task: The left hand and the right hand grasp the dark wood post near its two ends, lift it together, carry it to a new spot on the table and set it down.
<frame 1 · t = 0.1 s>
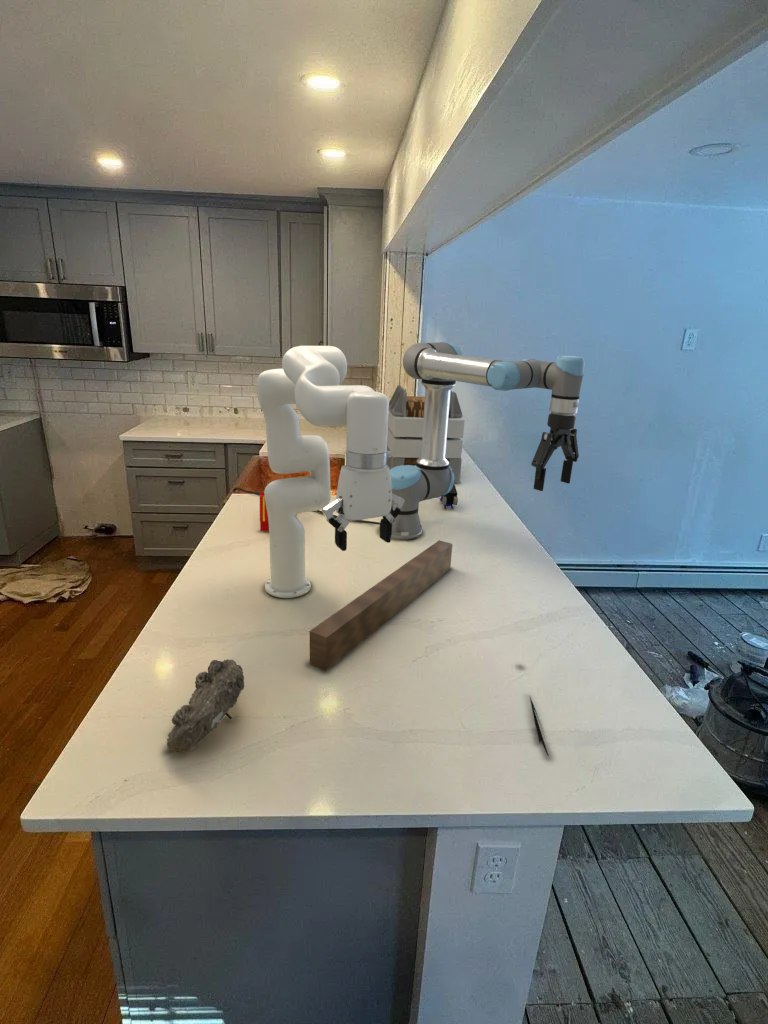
left hand: (363, 544, 111), 31 cm above the counter, tool pointing down, fingers open, 9 cm apart
right hand: (551, 486, 166), 28 cm above the counter, tool pointing down, fingers open, 13 cm apart
figurine: (357, 453, 307), on the counter
toy: (279, 518, 209), on the counter
fossil: (212, 717, 108), on the counter
feather: (532, 708, 115), on the counter
post: (391, 608, 150), on the counter
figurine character: (447, 505, 232), on the counter
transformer: (419, 473, 275), on the counter
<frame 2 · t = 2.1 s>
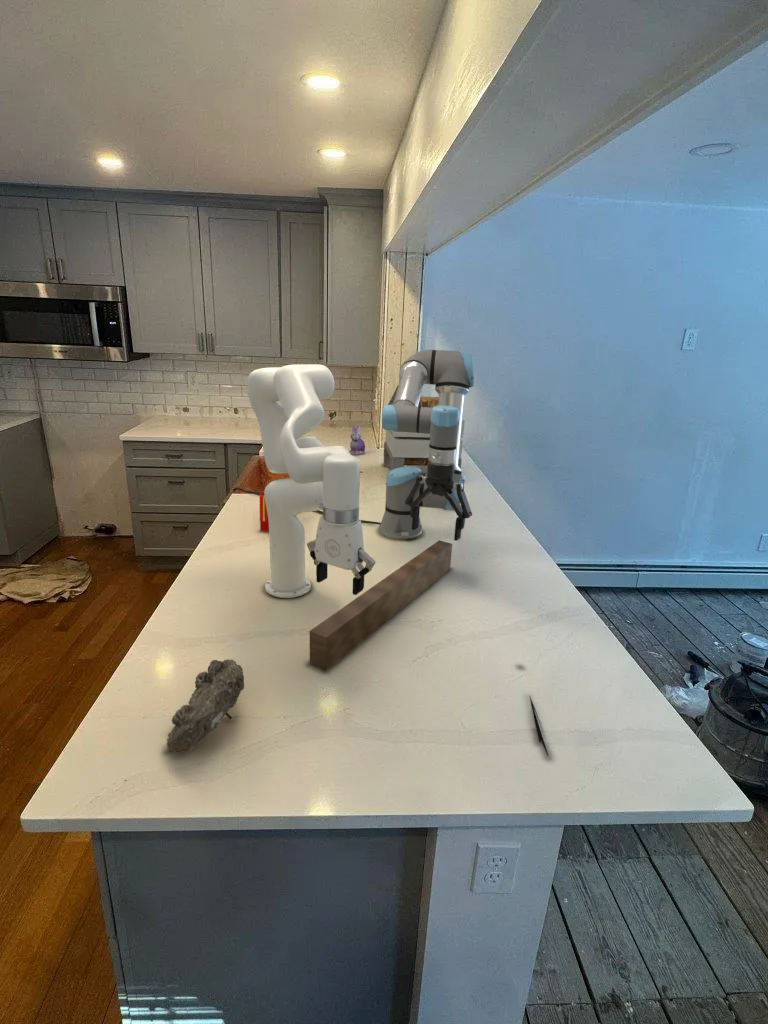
left hand: (339, 586, 125), 17 cm above the counter, tool pointing down, fingers open, 9 cm apart
right hand: (435, 533, 165), 14 cm above the counter, tool pointing down, fingers open, 13 cm apart
nothing on the counter moved.
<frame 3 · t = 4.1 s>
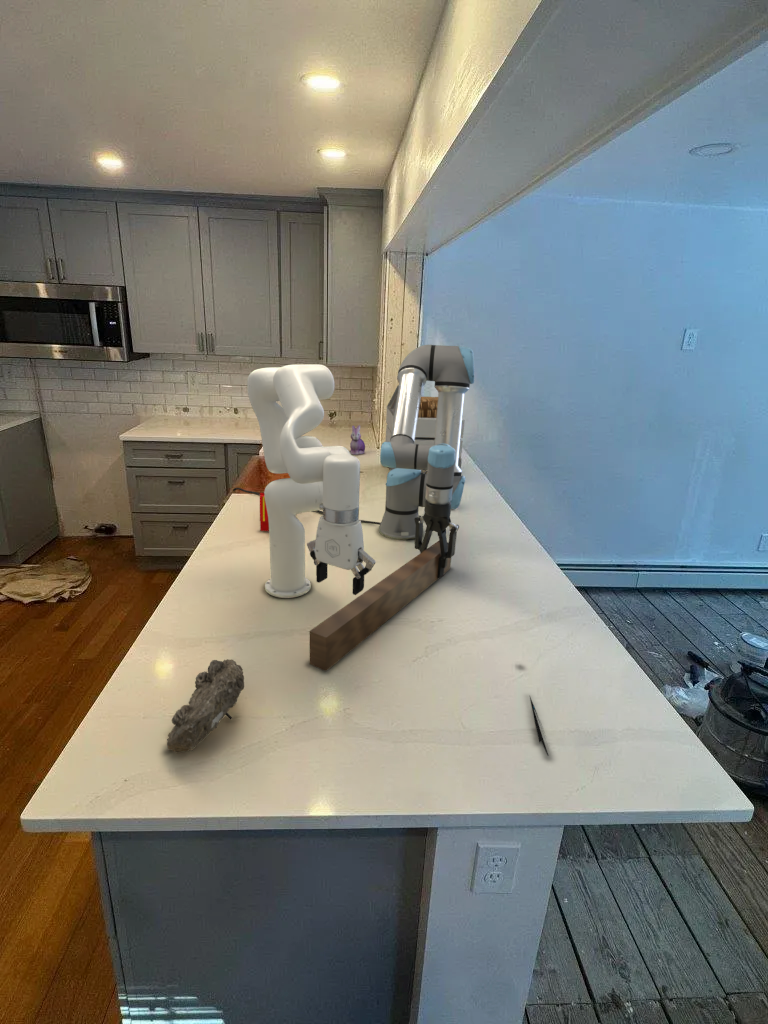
left hand: (339, 586, 125), 17 cm above the counter, tool pointing down, fingers open, 9 cm apart
right hand: (432, 574, 169), 1 cm above the counter, tool pointing down, fingers closed on post, 5 cm apart
post: (391, 608, 150), on the counter, touching right hand
everything else where it was.
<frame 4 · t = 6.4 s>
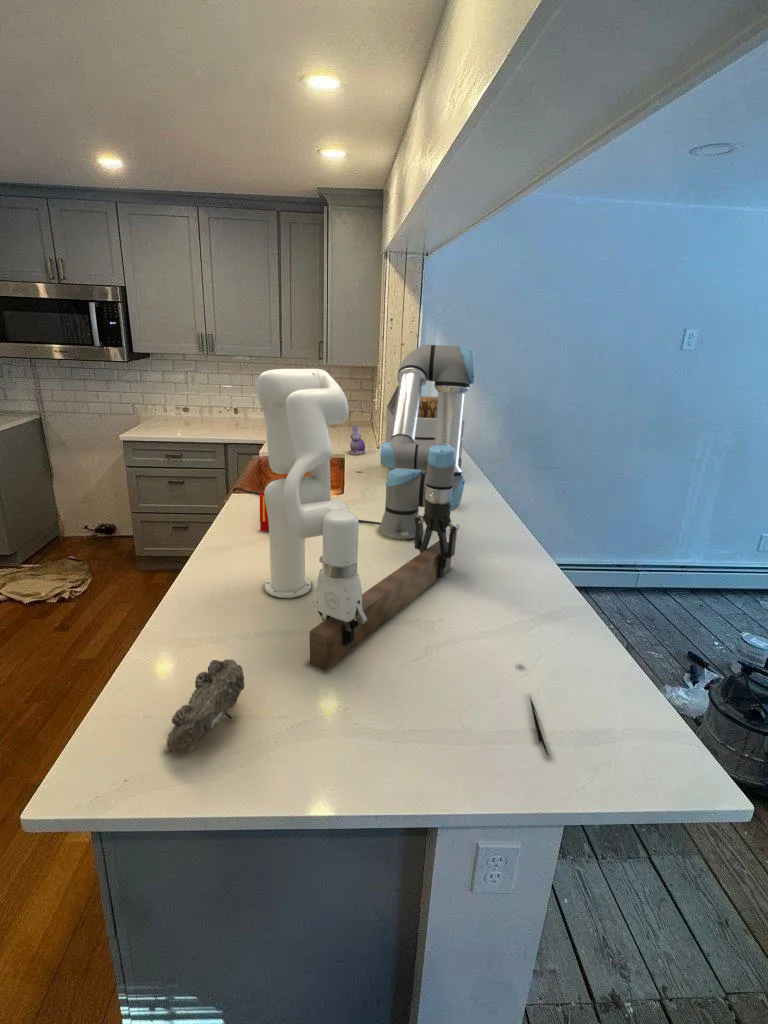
left hand: (338, 638, 129), 3 cm above the counter, tool pointing down, fingers closed on post, 4 cm apart
right hand: (432, 574, 169), 1 cm above the counter, tool pointing down, fingers closed on post, 5 cm apart
post: (391, 608, 150), on the counter, touching right hand, left hand
everything else where it was.
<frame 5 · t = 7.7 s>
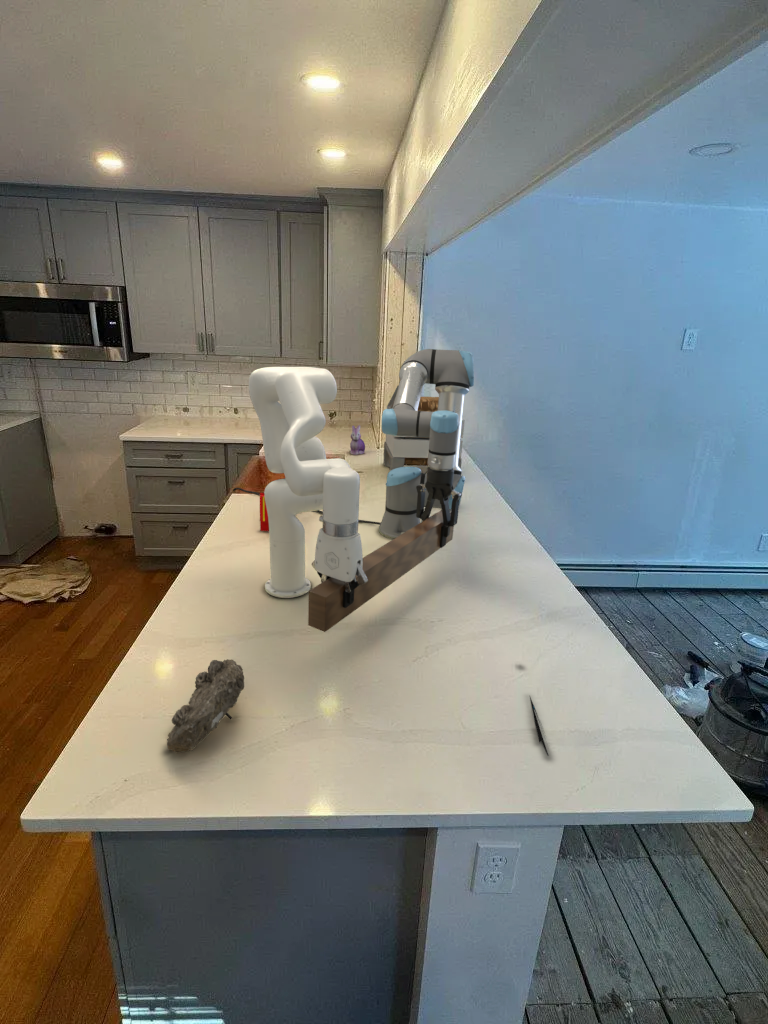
left hand: (338, 600, 127), 13 cm above the counter, tool pointing down, fingers closed on post, 4 cm apart
right hand: (434, 543, 166), 10 cm above the counter, tool pointing down, fingers closed on post, 5 cm apart
post: (392, 575, 147), point 10 cm above the counter, touching right hand, left hand
everything else where it was.
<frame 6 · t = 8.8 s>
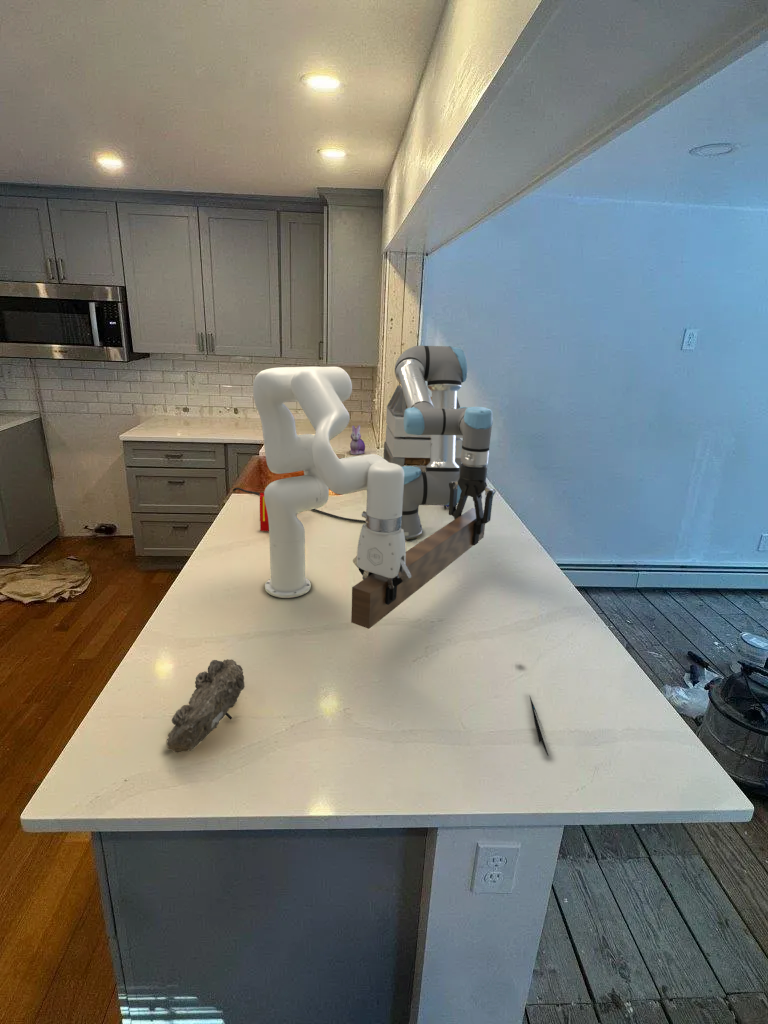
left hand: (380, 597, 125), 14 cm above the counter, tool pointing down, fingers closed on post, 4 cm apart
right hand: (466, 541, 165), 12 cm above the counter, tool pointing down, fingers closed on post, 5 cm apart
post: (428, 572, 146), point 11 cm above the counter, touching right hand, left hand
everything else where it was.
when the right hand's fingers open (2 cm above the counter, at t = 11.5 s): post drops 1 cm, on the counter.
when the left hand's fingers open (4 cm above the counter, at t = 11.6 s): post stays where it is, on the counter.
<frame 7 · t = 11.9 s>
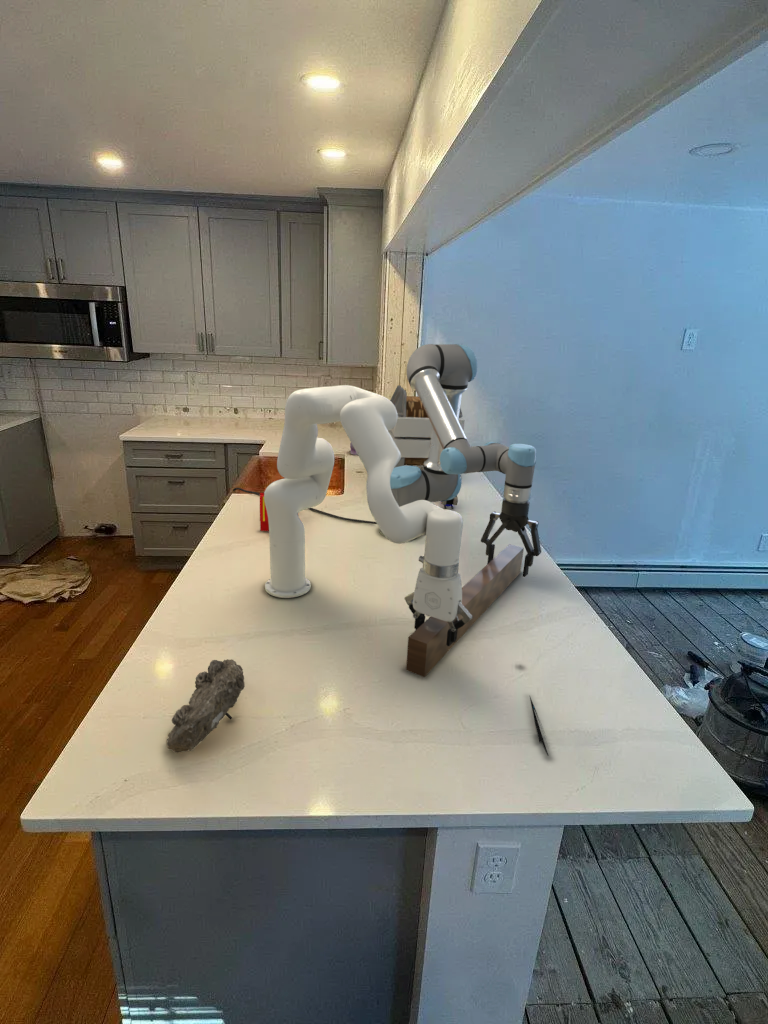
left hand: (434, 637, 128), 5 cm above the counter, tool pointing down, fingers open, 7 cm apart
right hand: (507, 570, 168), 3 cm above the counter, tool pointing down, fingers open, 10 cm apart
post: (472, 613, 149), on the counter
everything else where it was.
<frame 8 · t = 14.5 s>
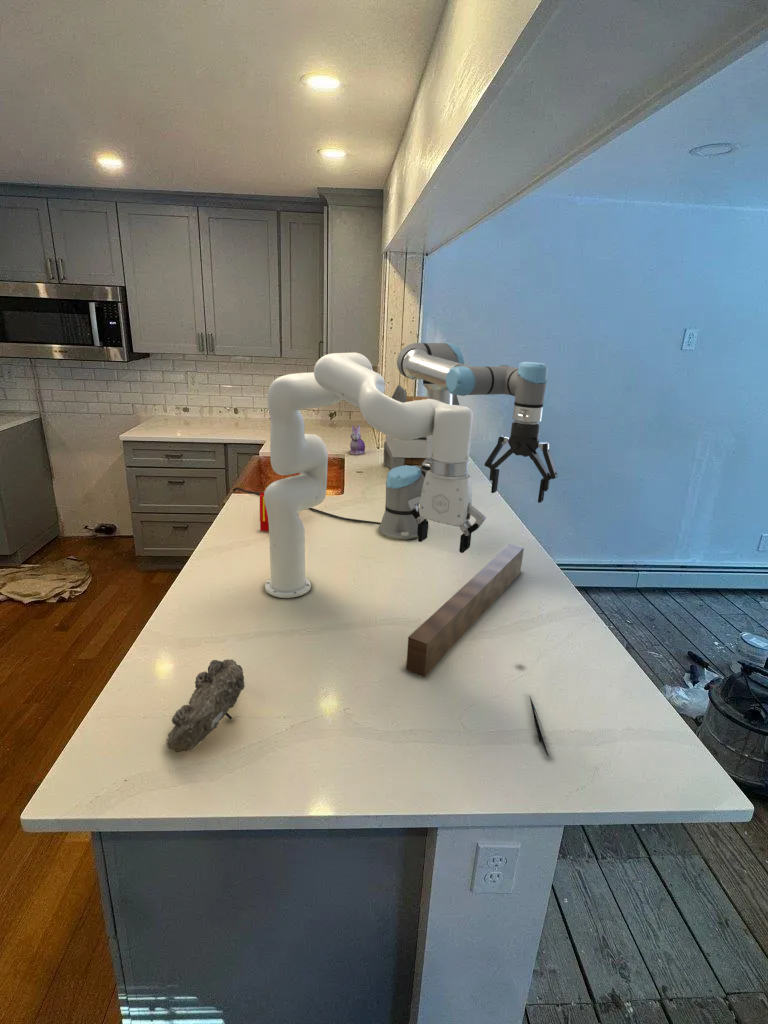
left hand: (442, 545, 120), 28 cm above the counter, tool pointing down, fingers open, 9 cm apart
right hand: (516, 496, 160), 26 cm above the counter, tool pointing down, fingers open, 13 cm apart
nothing on the counter moved.
at the end: post inside the target area (0.5 cm from its centre), on the counter; post tilted 0°; post never tilted more than 2° during the clip; both hands held the post at the same time; the left hand is holding nothing; the right hand is holding nothing; post at rest at the end (0.0 cm/s) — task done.
